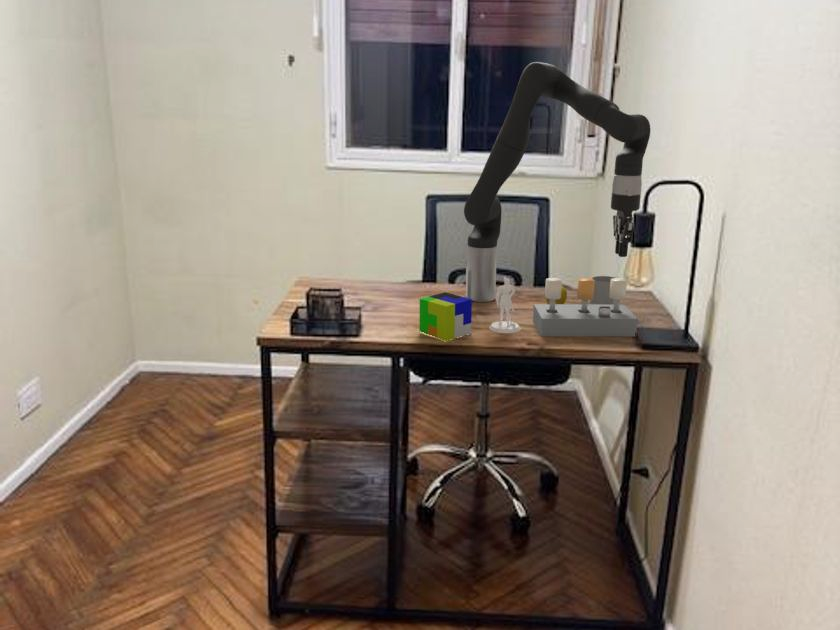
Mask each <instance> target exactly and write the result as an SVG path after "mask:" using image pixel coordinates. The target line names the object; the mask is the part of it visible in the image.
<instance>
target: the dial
mask: <svg viewBox="0 0 840 630" xmlns="http://www.w3.org/2000/svg"><path fill="white" fill-rule="evenodd" d="M610 312H611V308H610V307H609V306H600V307H599V311H598V316H599V317H602V318H609V317H610Z"/></svg>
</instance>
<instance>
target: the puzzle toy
mask: <svg viewBox="0 0 840 630" xmlns="http://www.w3.org/2000/svg"><path fill="white" fill-rule="evenodd" d="M472 309H473V301H472V299H469V298H466V296H465V297H464V296H461V295H459V294H458V295H457V294H454V293H449V292H446V291H445V292H440V293H438V294H433V295H430V296H426V297H422V298H419V332H420V331H421V332H424V333H426V334H429V335H432V336H435V337H437V338H440V339H442V340H445V341H447V340H450V339H454V338H457V337H460V336H464V335H467V334H470V335H472V317H473V316H472V312H473V311H472ZM467 336H468V335H467ZM464 337H465V336H464ZM454 340H455V339H454Z"/></svg>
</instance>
